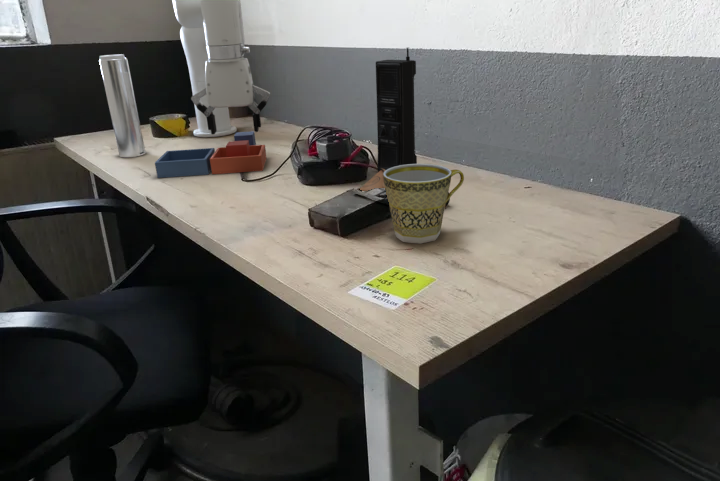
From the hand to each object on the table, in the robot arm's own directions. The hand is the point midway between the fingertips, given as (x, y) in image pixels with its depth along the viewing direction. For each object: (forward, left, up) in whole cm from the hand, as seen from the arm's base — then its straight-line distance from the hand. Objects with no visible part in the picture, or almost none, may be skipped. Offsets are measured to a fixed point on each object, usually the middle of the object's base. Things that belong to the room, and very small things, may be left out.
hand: (235, 131), depth 130 cm
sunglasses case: (+34, +33, -8) cm, 48 cm away
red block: (+1, 0, -7) cm, 7 cm away
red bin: (+1, 0, -8) cm, 8 cm away
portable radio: (+14, +35, -8) cm, 38 cm away
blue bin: (+1, -12, -8) cm, 14 cm away
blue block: (-12, 0, -8) cm, 15 cm away
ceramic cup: (+51, +35, -8) cm, 62 cm away
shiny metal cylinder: (-19, -30, -8) cm, 37 cm away
